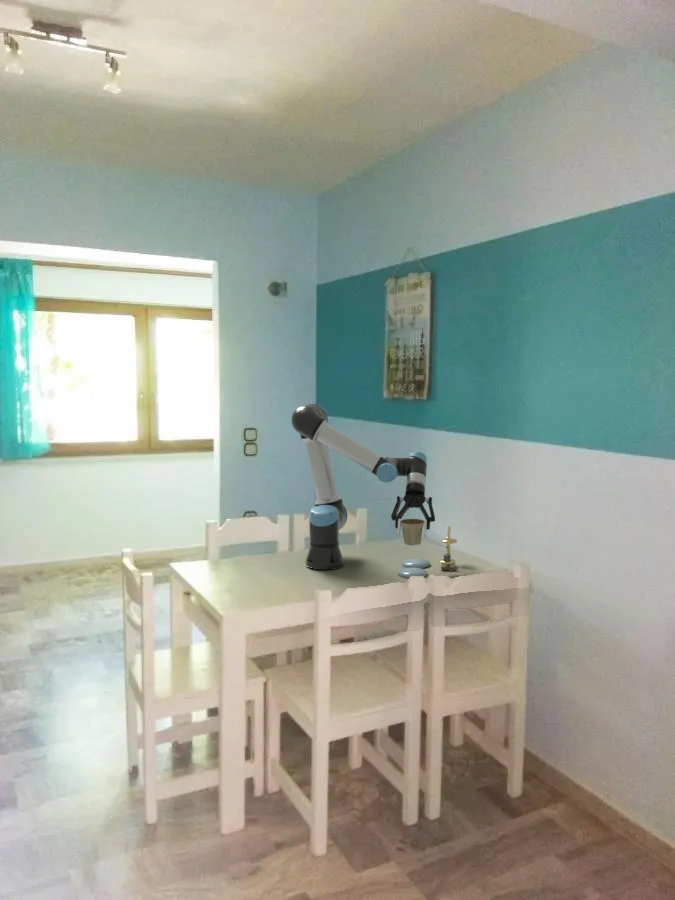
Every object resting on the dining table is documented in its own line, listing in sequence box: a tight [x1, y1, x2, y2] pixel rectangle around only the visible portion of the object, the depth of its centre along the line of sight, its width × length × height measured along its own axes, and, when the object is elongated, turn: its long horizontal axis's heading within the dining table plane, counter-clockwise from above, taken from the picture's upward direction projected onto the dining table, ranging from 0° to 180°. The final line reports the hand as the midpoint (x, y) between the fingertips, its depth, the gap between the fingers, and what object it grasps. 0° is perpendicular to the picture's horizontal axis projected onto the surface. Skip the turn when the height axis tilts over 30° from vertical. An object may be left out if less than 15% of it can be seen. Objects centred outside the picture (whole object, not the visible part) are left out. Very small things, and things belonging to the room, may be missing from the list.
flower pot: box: [400, 518, 425, 547], centre depth 264 cm, size 9×9×9 cm
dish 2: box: [401, 558, 431, 569], centre depth 278 cm, size 11×11×1 cm
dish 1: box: [397, 567, 428, 579], centre depth 266 cm, size 11×11×1 cm
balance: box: [439, 525, 458, 572], centre depth 272 cm, size 6×21×15 cm, turn 168°
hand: (411, 535), depth 261 cm, fingers closed on flower pot, 9 cm apart
